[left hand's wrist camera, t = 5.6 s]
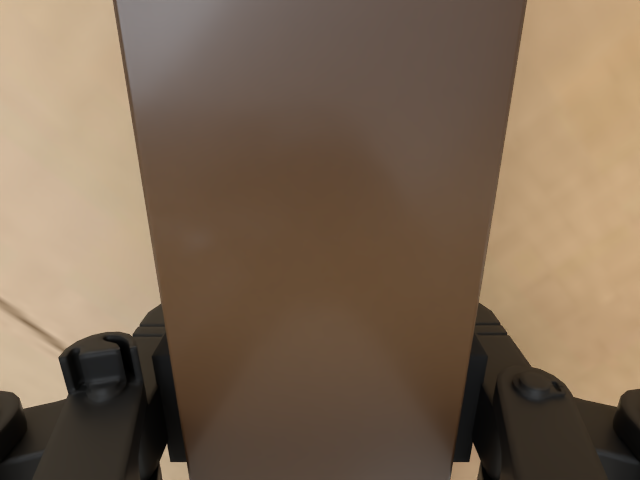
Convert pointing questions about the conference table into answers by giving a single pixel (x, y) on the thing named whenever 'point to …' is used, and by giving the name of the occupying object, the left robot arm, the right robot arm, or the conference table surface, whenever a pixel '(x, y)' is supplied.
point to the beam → (319, 221)
